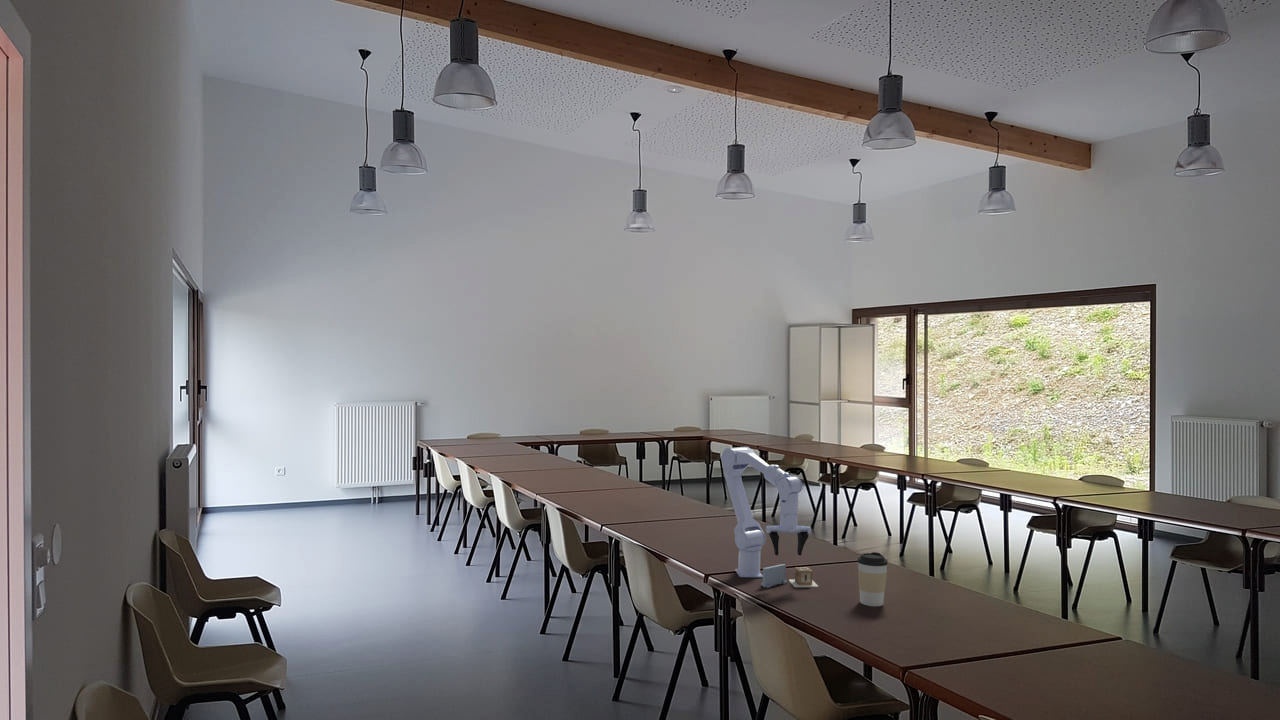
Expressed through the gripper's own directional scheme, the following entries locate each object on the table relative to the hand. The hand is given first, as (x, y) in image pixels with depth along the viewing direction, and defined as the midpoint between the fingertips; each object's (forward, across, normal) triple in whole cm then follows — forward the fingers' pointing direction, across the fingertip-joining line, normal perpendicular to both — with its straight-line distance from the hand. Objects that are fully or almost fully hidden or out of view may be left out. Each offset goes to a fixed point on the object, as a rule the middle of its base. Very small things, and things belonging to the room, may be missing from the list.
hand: (787, 554), depth 274 cm
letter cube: (+10, +6, +3) cm, 12 cm away
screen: (+10, -4, +2) cm, 11 cm away
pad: (+10, +6, +3) cm, 12 cm away
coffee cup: (+10, +22, -18) cm, 30 cm away
